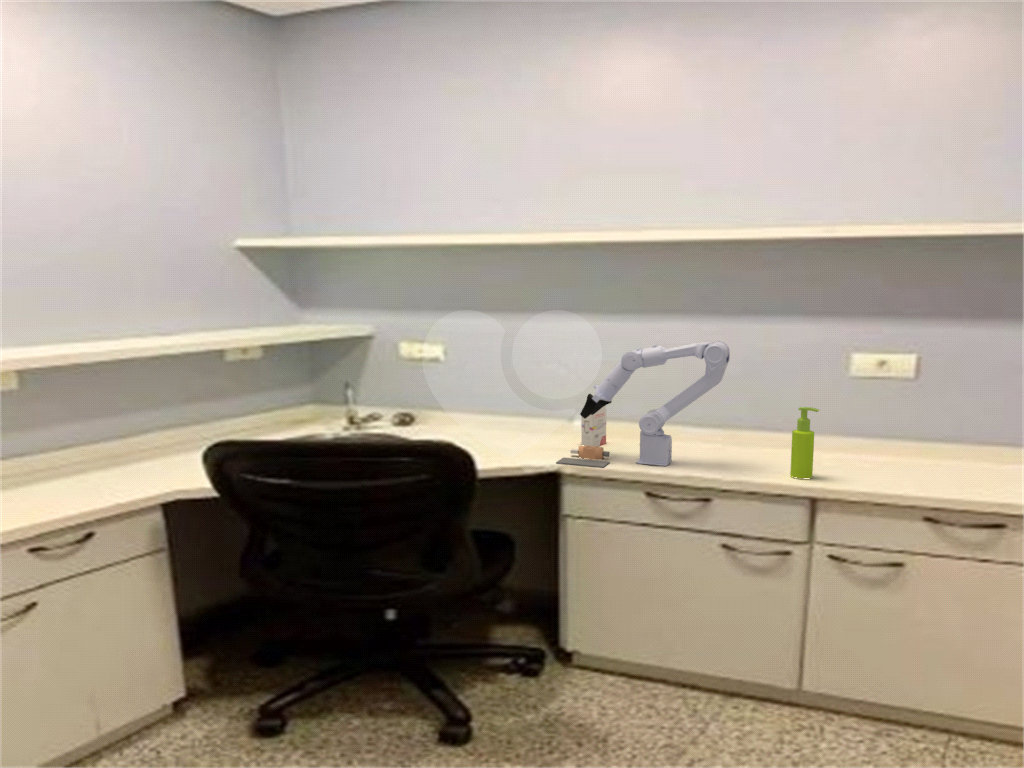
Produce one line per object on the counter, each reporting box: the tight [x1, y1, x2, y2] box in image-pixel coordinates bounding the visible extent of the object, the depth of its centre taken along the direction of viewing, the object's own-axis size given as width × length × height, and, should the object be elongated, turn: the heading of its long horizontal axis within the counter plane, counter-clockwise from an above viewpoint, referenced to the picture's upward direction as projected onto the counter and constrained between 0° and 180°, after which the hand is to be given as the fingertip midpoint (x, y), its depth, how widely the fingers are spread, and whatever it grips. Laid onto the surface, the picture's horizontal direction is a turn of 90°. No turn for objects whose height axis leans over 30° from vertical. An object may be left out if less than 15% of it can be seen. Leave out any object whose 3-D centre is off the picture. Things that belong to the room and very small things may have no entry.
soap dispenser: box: [789, 406, 820, 478], centre depth 234 cm, size 6×7×20 cm
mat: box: [555, 457, 611, 469], centre depth 253 cm, size 15×7×1 cm, turn 67°
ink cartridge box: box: [580, 405, 607, 447], centre depth 279 cm, size 9×5×15 cm, turn 143°
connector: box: [569, 445, 611, 460], centre depth 260 cm, size 12×4×3 cm, turn 67°
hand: (586, 414), depth 260 cm, fingers open, 7 cm apart
